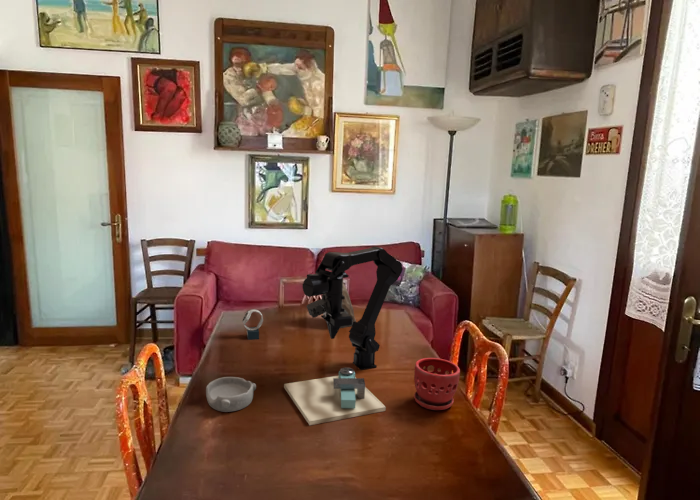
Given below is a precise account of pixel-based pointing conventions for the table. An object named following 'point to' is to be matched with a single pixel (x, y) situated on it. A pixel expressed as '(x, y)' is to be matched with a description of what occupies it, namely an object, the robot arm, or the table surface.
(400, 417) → the table surface
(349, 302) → the grey tall stone
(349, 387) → the pintle and keeper
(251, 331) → the watch
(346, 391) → the link
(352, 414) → the base board
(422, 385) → the plant pot
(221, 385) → the dish
